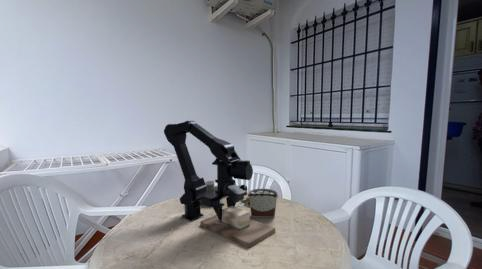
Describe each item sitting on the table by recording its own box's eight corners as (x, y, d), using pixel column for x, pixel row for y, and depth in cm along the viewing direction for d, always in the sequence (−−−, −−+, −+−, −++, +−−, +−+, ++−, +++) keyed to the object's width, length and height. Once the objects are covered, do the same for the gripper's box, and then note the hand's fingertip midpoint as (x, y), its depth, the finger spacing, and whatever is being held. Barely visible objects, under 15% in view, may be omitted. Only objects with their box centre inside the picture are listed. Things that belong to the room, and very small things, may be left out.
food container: (277, 211, 102) (277, 188, 102) (278, 217, 96) (278, 192, 96) (248, 210, 103) (248, 187, 103) (247, 216, 97) (247, 192, 97)
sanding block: (222, 222, 88) (222, 209, 88) (232, 218, 92) (232, 205, 91) (240, 230, 82) (239, 216, 81) (249, 225, 85) (249, 212, 85)
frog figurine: (265, 204, 112) (265, 196, 112) (245, 210, 105) (245, 202, 105) (250, 198, 121) (249, 190, 121) (230, 203, 114) (230, 195, 114)
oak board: (200, 225, 90) (200, 221, 89) (227, 214, 100) (227, 210, 100) (249, 248, 73) (249, 243, 73) (275, 232, 84) (275, 227, 84)
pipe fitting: (222, 198, 118) (219, 178, 117) (221, 205, 110) (218, 184, 109) (198, 201, 119) (195, 181, 117) (195, 208, 111) (192, 187, 110)
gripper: (221, 186, 77) (221, 233, 78) (257, 175, 91) (257, 216, 92) (199, 180, 85) (200, 223, 86) (236, 171, 98) (236, 209, 99)
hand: (225, 217), depth 90 cm, fingers open, 5 cm apart
